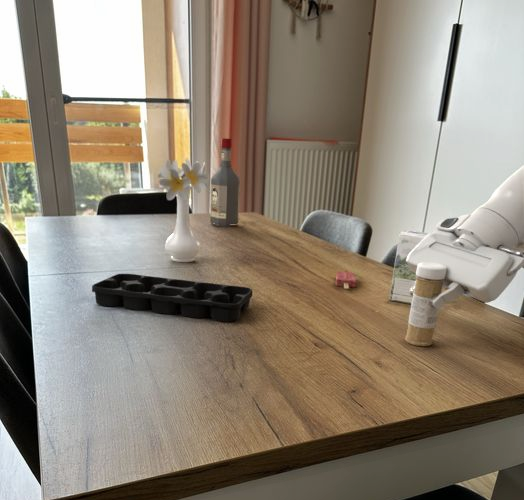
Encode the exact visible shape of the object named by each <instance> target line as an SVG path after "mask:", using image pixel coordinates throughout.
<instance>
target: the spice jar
mask: <svg viewBox="0 0 524 500" xmlns="http://www.w3.org/2000/svg"><path fill="white" fill-rule="evenodd" d="M446 270H447V268H446V266H444V265H442V264H438V263H430V262H423V263H419V264H418V265H417V270H416V275H417V276H416V283H415V289H414V293H413V298H412V303H411V304H410V309H409V314H408V315H409V316H408V324H407V330H406V335H405V337H404V340H405V341H406V342H407V343H408V344H410V345H411V346H412V345H413V346H417V347H429V346H431V345H432V344H433V337H434V331H435V327H436V325H437V319H438V315H439V314H438V313H439V310H437V309H435V308H434V307H432V306H431V304H430V303H429V300H430V299H431V298H432V297H433V296H434V295H435V294H438V295H439V294H441V293H442V291H443V290H442V289H443V286H444V285H443V281H444V278H445V275H446Z"/></svg>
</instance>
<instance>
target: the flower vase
mask: <svg viewBox="0 0 524 500" xmlns="http://www.w3.org/2000/svg"><path fill="white" fill-rule="evenodd" d="M178 164H179V163H178V161H177V160H173V162H172V163H171V160H170V158H167V159H166V161H165V167H162V168H160V170H159V172H158V174H157V177H158V179H159V180H158V183H159V184H158V188H160V189H161V188H168V190H167V192H166V200H167V201H173V200H174V199H175V197H176V222H175V226H174V230H173V232H172V234H171V235H170V236H169V237H168V238H167V240H166V241H165V243H164V249H165V251H166V253H167V254H168V255H169V256H170V258H171V261H173V262H177V263H191V262H194V261H195V260H196V257H197V256H198V255H199V254H200V252H201V251H202V245H201V242H200V240H199V239H198V238H197V236H195V234H194V232H193V230H192V226H191V222H190V196H191V190H192V188H193V189H194V190H195V192H196V193H201V192H202V191H201V190H202V187H203V188H204V190H205V191H206V192H208V193H209V194H211V187H210V186H209V184H208V182H209V180H210V174H209V173H208V172H206V162H205V161H204V162H203V164H202V165H201V162H200V161H195V162H194V163H193V164H192V163H191V161H190V160H189V159H188V158H187V157H185V158H184V162H182V163H181V168H180V167H178V166H179V165H178ZM201 186H202V187H201Z"/></svg>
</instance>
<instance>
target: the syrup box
mask: <svg viewBox="0 0 524 500" xmlns="http://www.w3.org/2000/svg"><path fill="white" fill-rule="evenodd" d="M430 233H431V232H424V231H423V232H422V231H415V230H414V231H413V230H406V229H404V230H401V232H399V235H398V240H397V246H396V254H395V260H394V265H393V272H392V278H391V285H390V291H389V299H388V301H391V302H397V303H401V304H402V303H403V304H407V305H411V303H412V298H413V297H411V295H410V294H409V289H410V288H411V287H412V286H413V285H414V284H415V281H416V276H417V275H416V273H414V272H413V271H412V269H411V268H410V267H409V265H408V264H407V262H406V261H407V257H408V255H409V253H410V252H411V251H412V250H413V249H414V248H415V247H416V246H417V245H418V244H419V243H420V242H421V241H422V240H423V239H424V238H425V237H426V236H427V235H428V234H430Z"/></svg>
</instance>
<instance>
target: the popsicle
mask: <svg viewBox="0 0 524 500" xmlns="http://www.w3.org/2000/svg"><path fill="white" fill-rule="evenodd" d="M356 285H357V279H356V276H355V273H354V272H351V271H344V270H341V271H340V270H338V271H336V275H335V286H336V287H343V289H345V290H348V289H350V288H356Z"/></svg>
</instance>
